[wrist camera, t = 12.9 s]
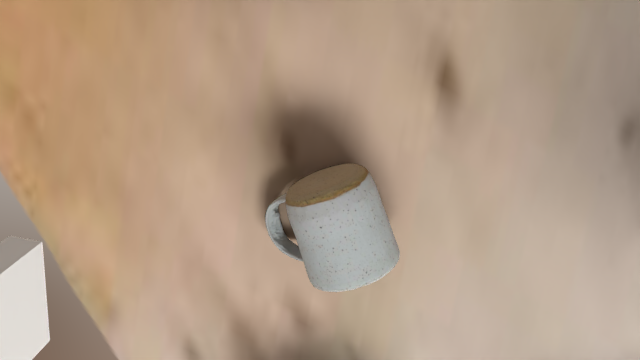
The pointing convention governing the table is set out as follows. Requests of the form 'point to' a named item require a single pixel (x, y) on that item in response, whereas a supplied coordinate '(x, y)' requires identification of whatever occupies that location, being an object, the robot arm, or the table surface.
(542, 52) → the table surface
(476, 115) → the table surface
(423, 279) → the table surface
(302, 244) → the ceramic mug
